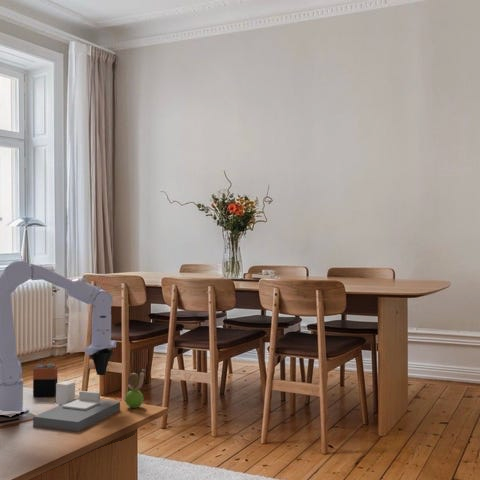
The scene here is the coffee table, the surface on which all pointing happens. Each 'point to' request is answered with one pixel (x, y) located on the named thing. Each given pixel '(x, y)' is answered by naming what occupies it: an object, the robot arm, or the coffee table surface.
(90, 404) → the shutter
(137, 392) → the snail figurine
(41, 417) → the socket plate
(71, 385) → the plug
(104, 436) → the coffee table surface
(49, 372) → the battery
